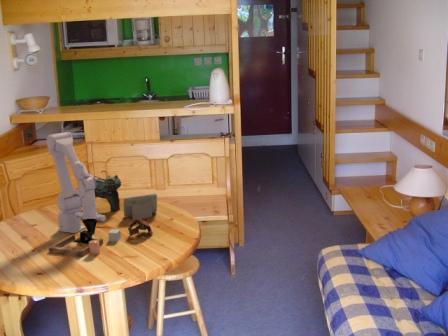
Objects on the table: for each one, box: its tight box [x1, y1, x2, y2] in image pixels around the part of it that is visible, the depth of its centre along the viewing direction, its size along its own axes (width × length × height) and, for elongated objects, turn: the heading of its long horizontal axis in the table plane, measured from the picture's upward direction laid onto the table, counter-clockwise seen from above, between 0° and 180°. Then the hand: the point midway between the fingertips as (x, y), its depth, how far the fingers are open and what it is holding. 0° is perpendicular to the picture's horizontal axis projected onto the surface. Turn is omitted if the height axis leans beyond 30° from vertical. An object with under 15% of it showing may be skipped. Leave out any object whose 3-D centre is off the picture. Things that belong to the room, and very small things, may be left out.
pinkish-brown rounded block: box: [88, 240, 101, 256], centre depth 224 cm, size 4×4×5 cm
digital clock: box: [123, 193, 158, 221], centre depth 264 cm, size 16×9×11 cm, turn 98°
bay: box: [48, 233, 104, 258], centre depth 231 cm, size 16×15×2 cm
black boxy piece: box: [71, 229, 99, 245], centre depth 238 cm, size 12×7×5 cm, turn 65°
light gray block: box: [107, 228, 122, 243], centre depth 238 cm, size 4×4×4 cm
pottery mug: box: [127, 218, 154, 237], centre depth 243 cm, size 12×10×8 cm
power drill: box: [93, 170, 122, 212], centre depth 275 cm, size 20×6×20 cm, turn 69°
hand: (91, 234), depth 240 cm, fingers closed
